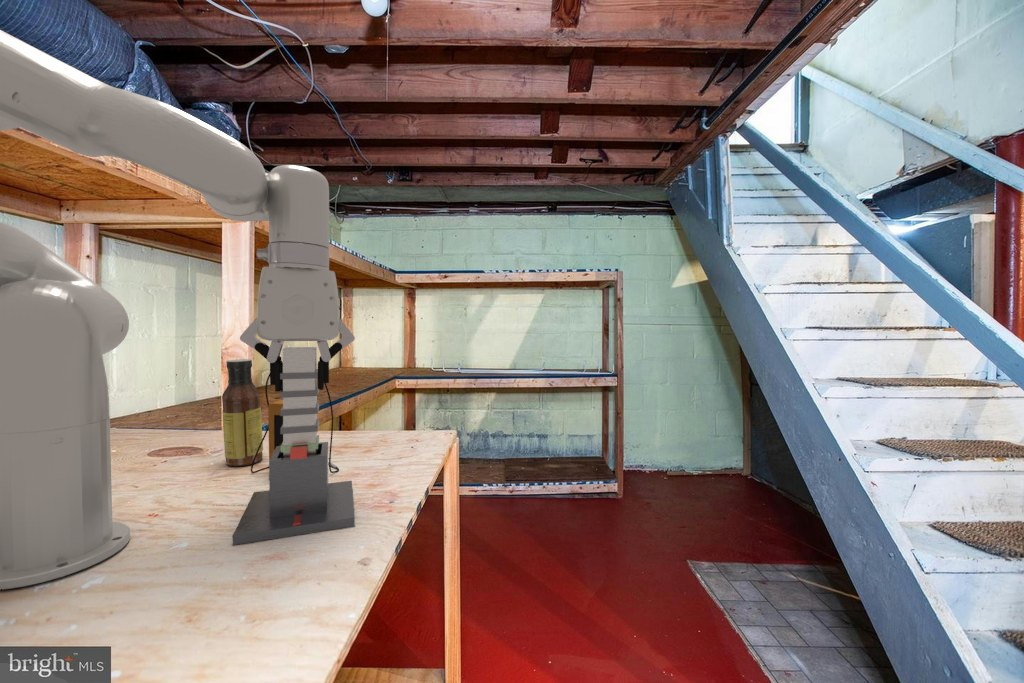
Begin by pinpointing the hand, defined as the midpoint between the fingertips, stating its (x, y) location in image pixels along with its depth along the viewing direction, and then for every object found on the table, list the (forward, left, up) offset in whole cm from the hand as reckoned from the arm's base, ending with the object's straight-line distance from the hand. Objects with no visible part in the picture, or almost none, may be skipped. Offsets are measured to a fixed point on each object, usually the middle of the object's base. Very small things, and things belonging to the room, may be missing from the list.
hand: (300, 387), depth 60 cm
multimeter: (-1, +20, -18) cm, 27 cm away
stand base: (0, 0, -18) cm, 18 cm away
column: (0, 0, -10) cm, 10 cm away
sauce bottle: (-12, +27, -18) cm, 35 cm away
